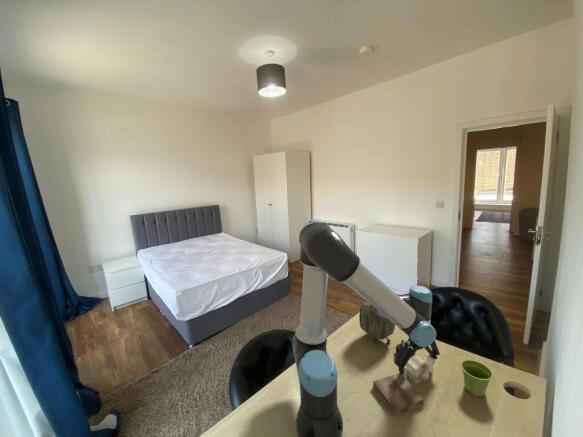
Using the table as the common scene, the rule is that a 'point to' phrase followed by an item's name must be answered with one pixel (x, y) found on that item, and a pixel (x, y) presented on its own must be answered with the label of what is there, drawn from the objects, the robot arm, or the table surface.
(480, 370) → the plant pot
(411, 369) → the cube
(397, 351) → the tape measure
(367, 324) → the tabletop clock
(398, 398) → the stand
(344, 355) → the table surface
